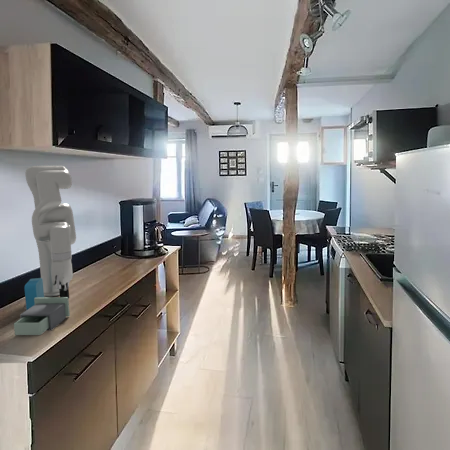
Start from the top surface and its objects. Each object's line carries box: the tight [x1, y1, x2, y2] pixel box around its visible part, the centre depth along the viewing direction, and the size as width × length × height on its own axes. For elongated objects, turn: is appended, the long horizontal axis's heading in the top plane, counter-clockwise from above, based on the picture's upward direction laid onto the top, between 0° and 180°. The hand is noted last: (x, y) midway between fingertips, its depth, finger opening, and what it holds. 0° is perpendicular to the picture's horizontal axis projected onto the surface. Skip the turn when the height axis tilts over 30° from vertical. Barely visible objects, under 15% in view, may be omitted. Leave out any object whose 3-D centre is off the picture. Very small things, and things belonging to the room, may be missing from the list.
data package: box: [24, 277, 44, 311], centre depth 162 cm, size 12×4×12 cm, turn 14°
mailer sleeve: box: [19, 303, 67, 331], centre depth 145 cm, size 12×11×6 cm
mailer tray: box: [13, 296, 71, 336], centre depth 143 cm, size 19×13×8 cm
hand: (64, 299), depth 160 cm, fingers closed
